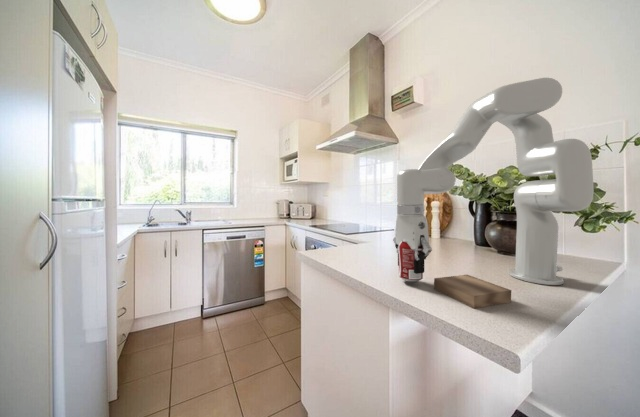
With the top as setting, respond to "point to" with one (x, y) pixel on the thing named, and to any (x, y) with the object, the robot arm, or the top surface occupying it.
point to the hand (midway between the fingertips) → (410, 268)
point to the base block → (472, 291)
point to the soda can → (407, 263)
